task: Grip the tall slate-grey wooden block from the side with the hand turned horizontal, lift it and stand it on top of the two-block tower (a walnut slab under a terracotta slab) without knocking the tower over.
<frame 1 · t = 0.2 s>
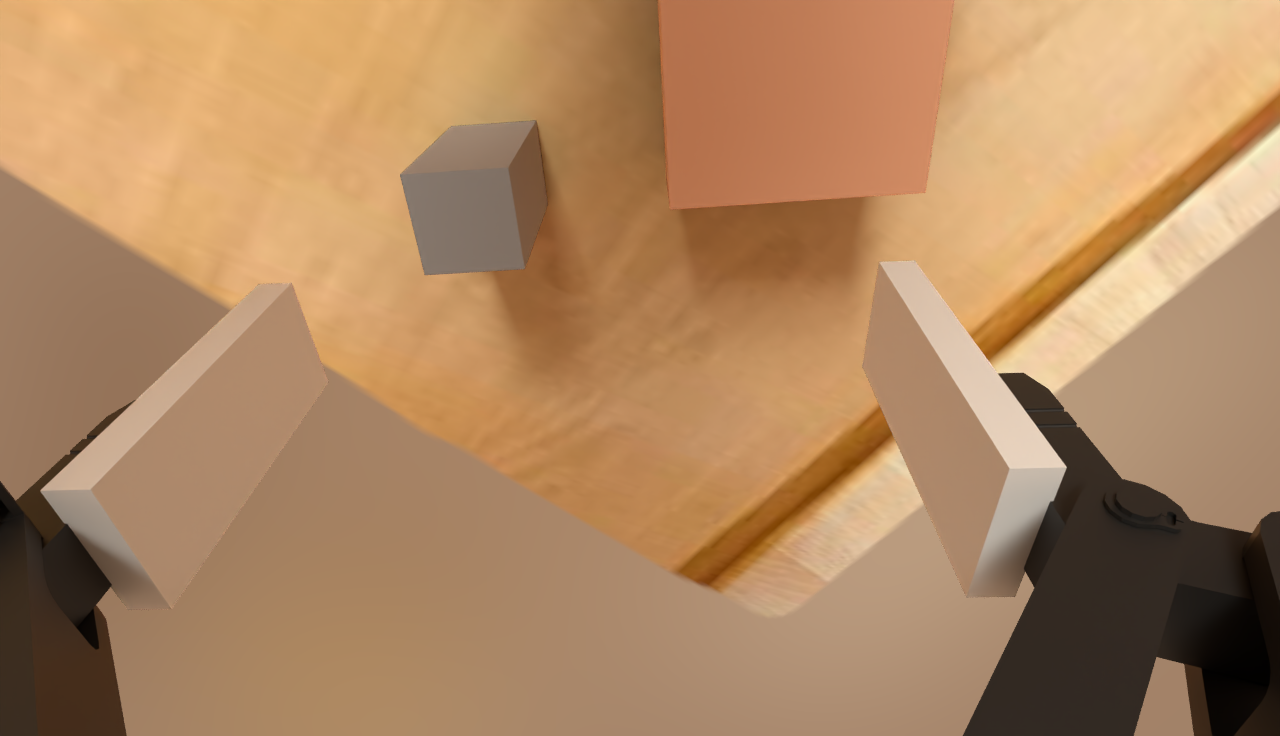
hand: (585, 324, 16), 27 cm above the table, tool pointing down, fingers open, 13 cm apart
tower top: (783, 49, 33), point 5 cm above the table
grey block: (500, 166, 41), on the table
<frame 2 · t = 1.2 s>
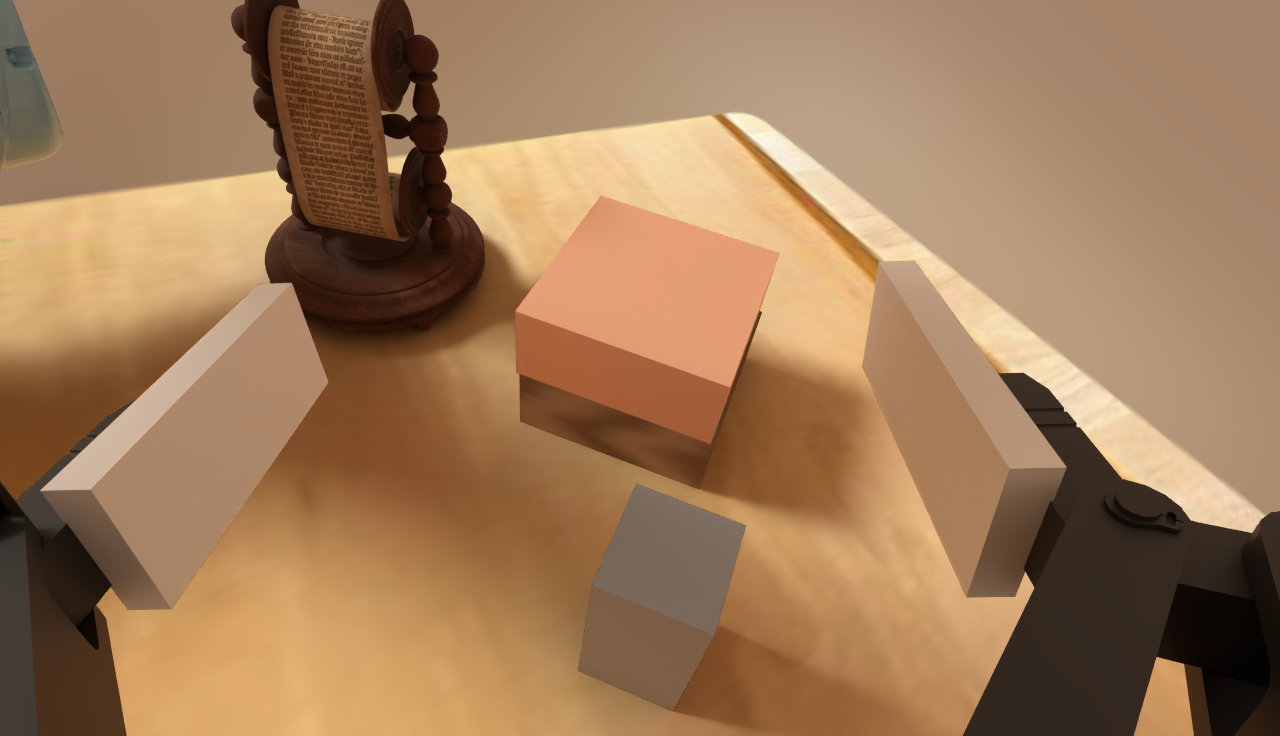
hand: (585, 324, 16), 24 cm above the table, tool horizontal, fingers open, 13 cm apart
tower bottom: (639, 390, 47), on the table, touching tower top
scroll: (384, 276, 51), on the table
tower top: (646, 339, 43), point 5 cm above the table, touching tower bottom
grey block: (641, 642, 35), on the table
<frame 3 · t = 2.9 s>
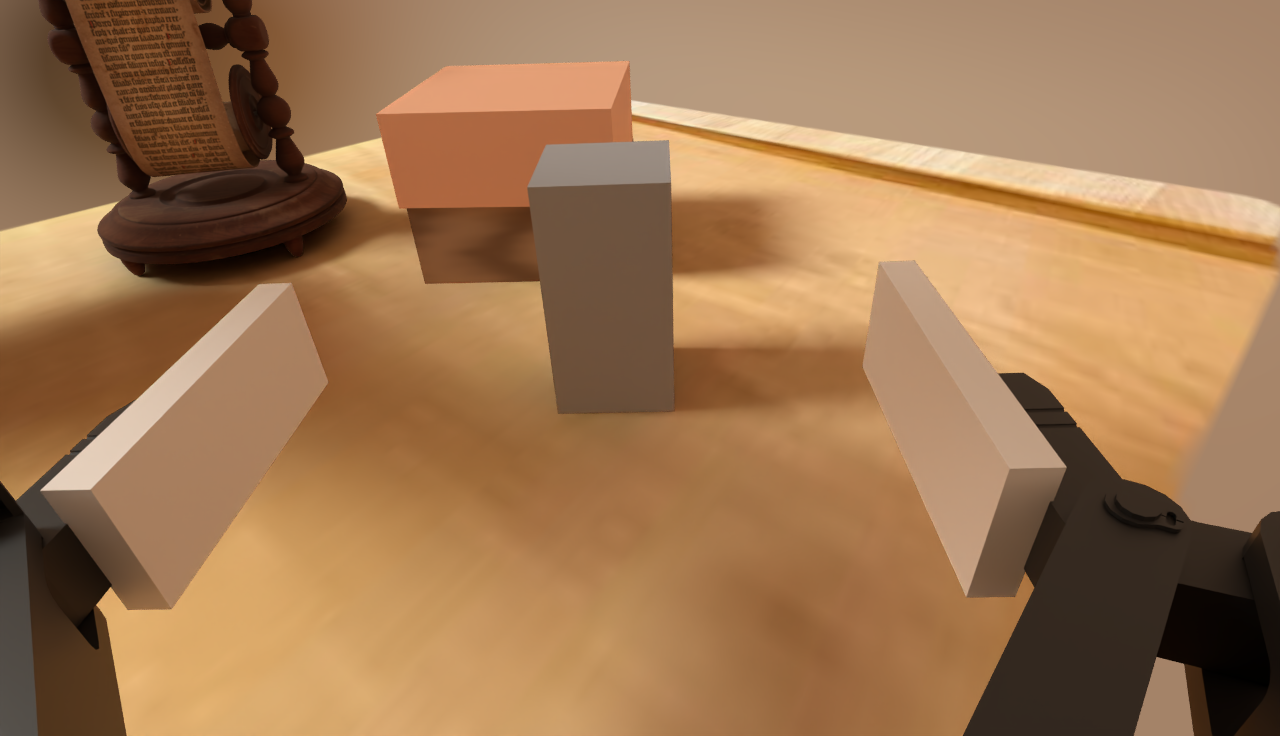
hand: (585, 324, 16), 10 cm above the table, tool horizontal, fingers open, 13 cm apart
tower bottom: (542, 244, 45), on the table, touching tower top
scroll: (241, 239, 47), on the table
tower top: (528, 170, 42), point 5 cm above the table, touching tower bottom
grey block: (618, 378, 31), on the table
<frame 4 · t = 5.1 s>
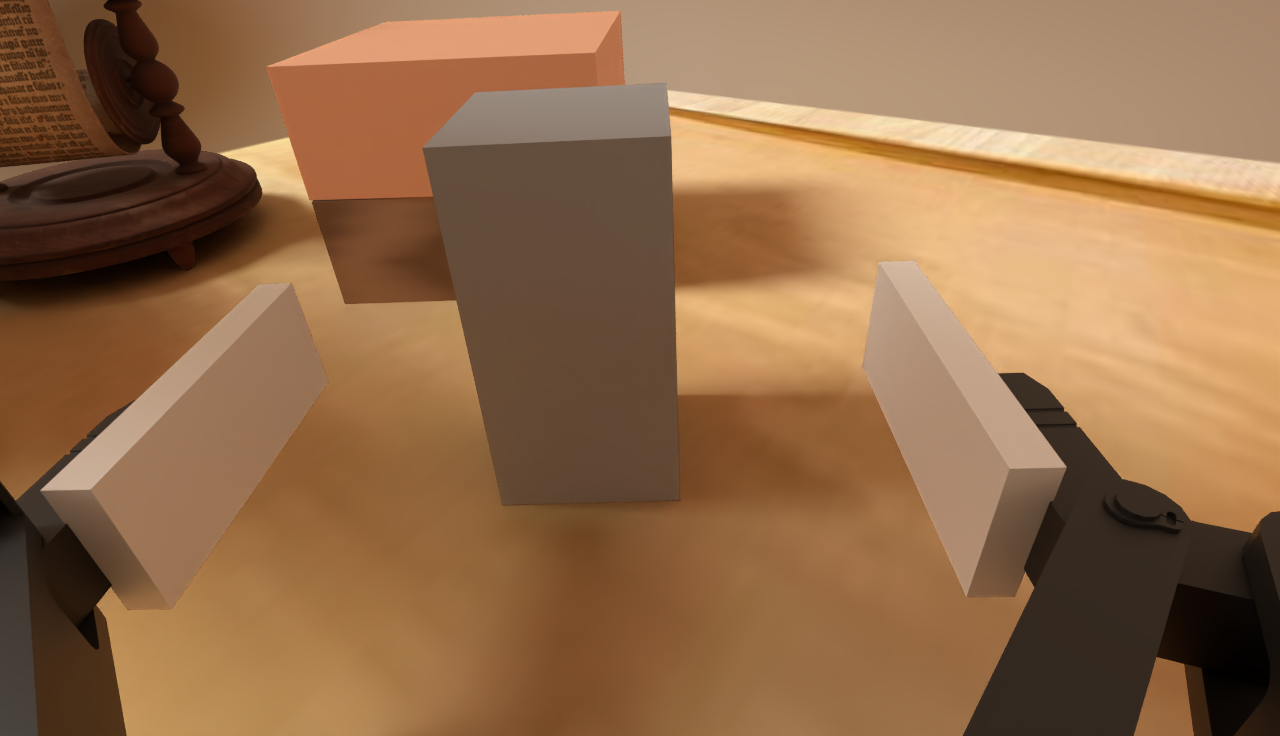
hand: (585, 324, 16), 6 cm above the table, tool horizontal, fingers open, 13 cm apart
tower bottom: (506, 249, 35), on the table, touching tower top
scroll: (127, 248, 37), on the table
tower top: (490, 151, 32), point 5 cm above the table, touching tower bottom
grey block: (596, 444, 21), on the table
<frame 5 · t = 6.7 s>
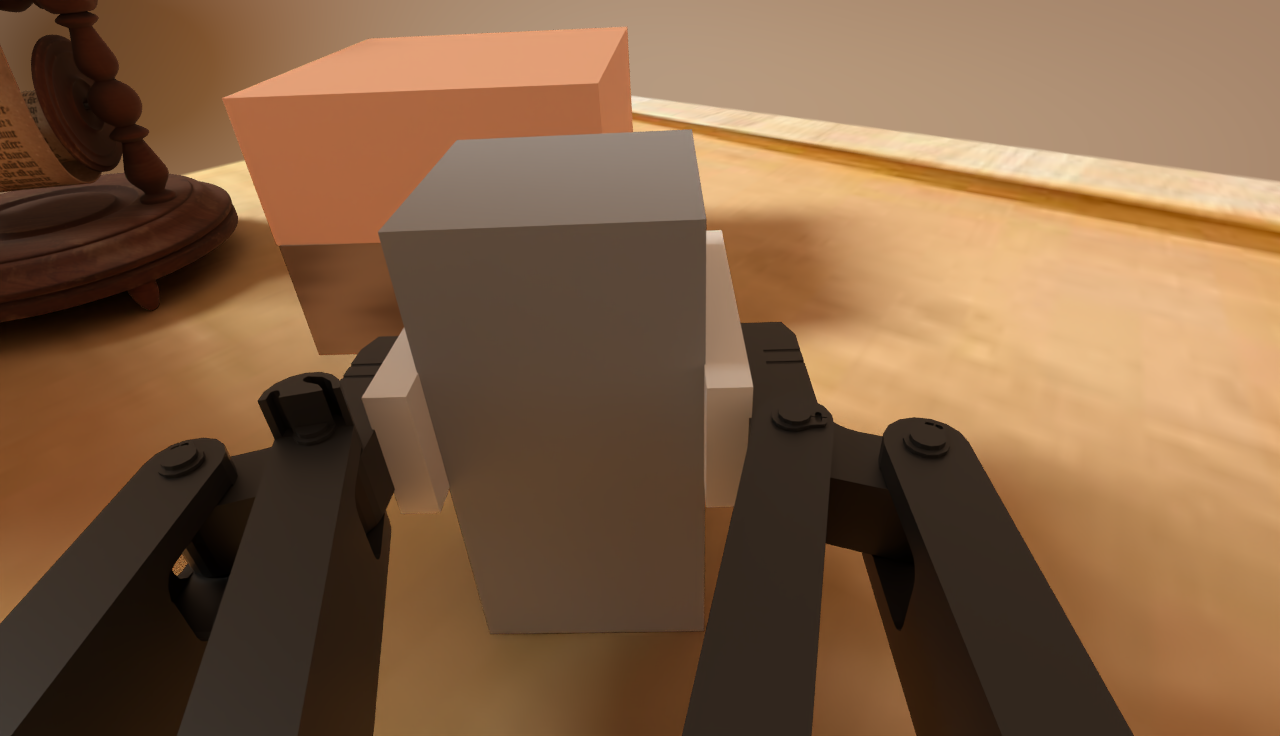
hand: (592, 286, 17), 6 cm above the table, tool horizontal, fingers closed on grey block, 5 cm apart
tower bottom: (501, 288, 32), on the table, touching tower top
scroll: (89, 282, 34), on the table
tower top: (482, 184, 29), point 5 cm above the table, touching tower bottom
grey block: (603, 548, 18), on the table, touching gripper
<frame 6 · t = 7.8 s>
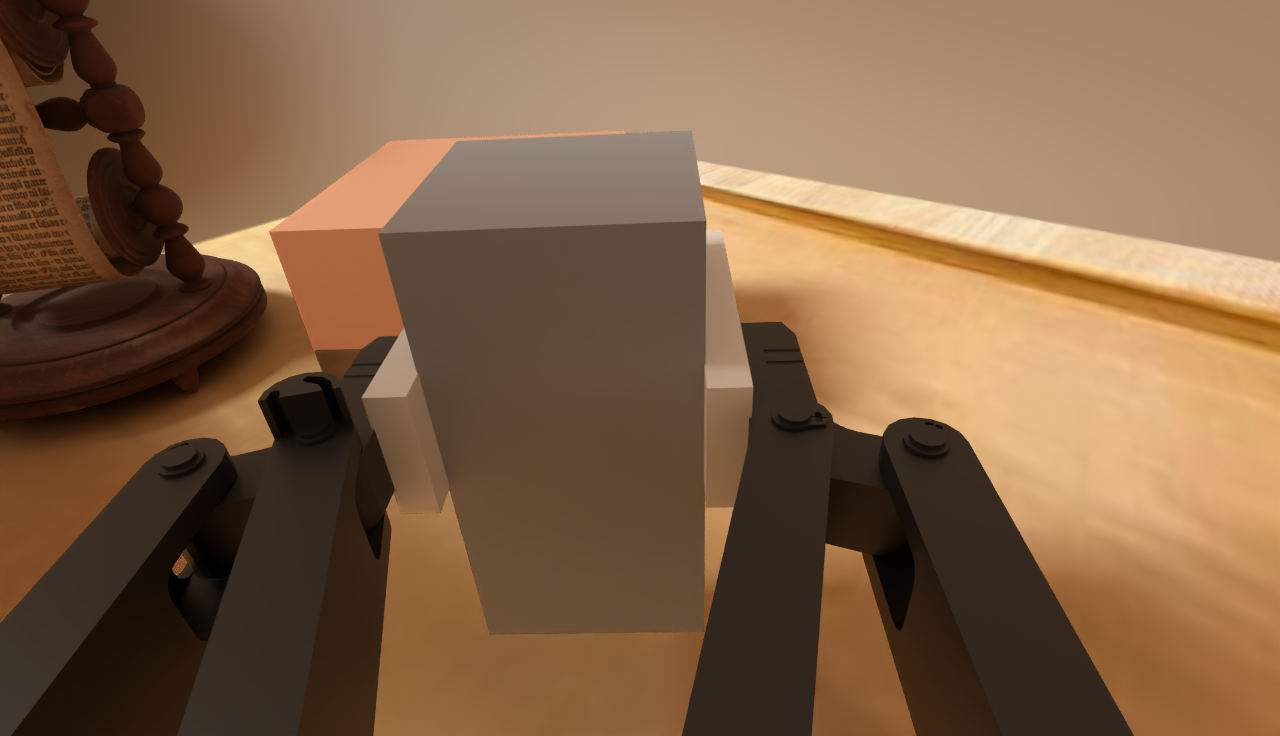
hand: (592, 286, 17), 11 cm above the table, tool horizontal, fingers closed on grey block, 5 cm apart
tower bottom: (510, 368, 35), on the table, touching tower top
scroll: (131, 360, 37), on the table
tower top: (495, 279, 32), point 5 cm above the table, touching tower bottom
grey block: (603, 549, 18), point 4 cm above the table, touching gripper
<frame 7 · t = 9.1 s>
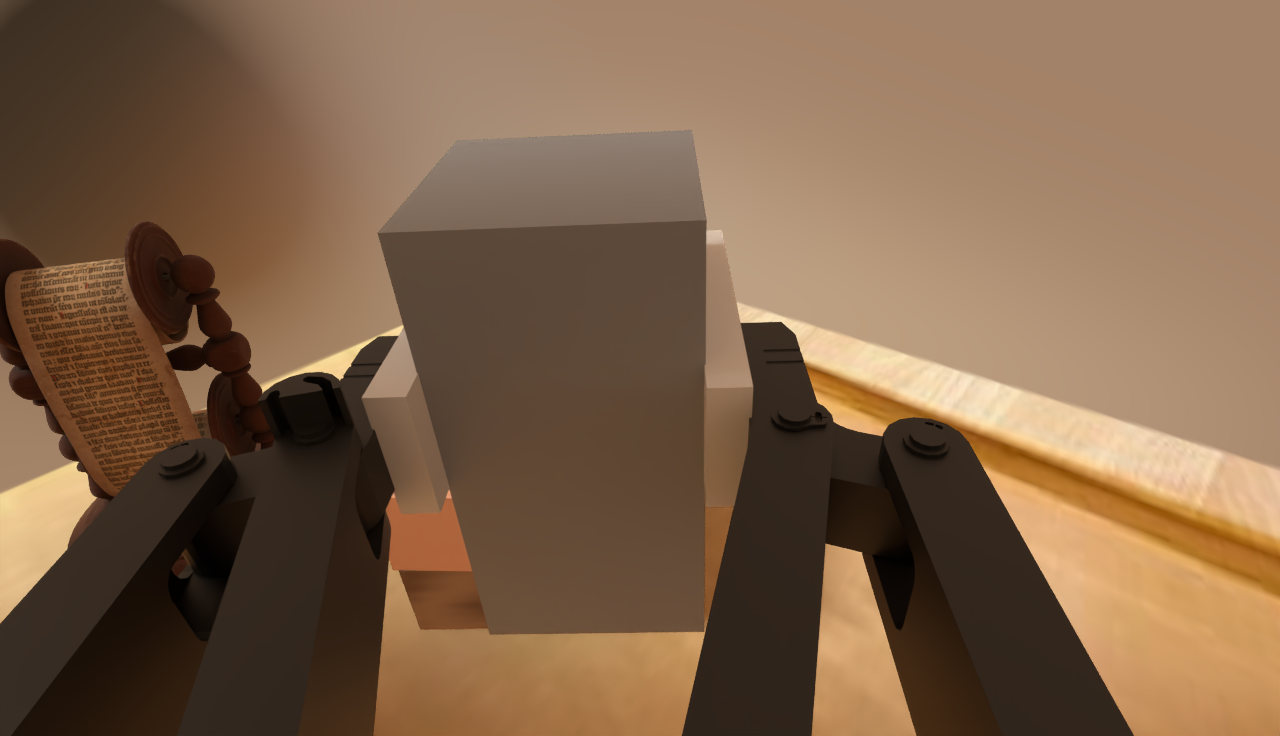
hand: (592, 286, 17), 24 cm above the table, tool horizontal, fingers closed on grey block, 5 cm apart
tower bottom: (546, 544, 42), on the table
scroll: (225, 528, 44), on the table
tower top: (534, 486, 39), point 5 cm above the table
grey block: (603, 549, 18), point 17 cm above the table, touching gripper
when the fingers open (17 cm above the table, at t = 12.5 s): grey block drops 2 cm, resting on tower top.
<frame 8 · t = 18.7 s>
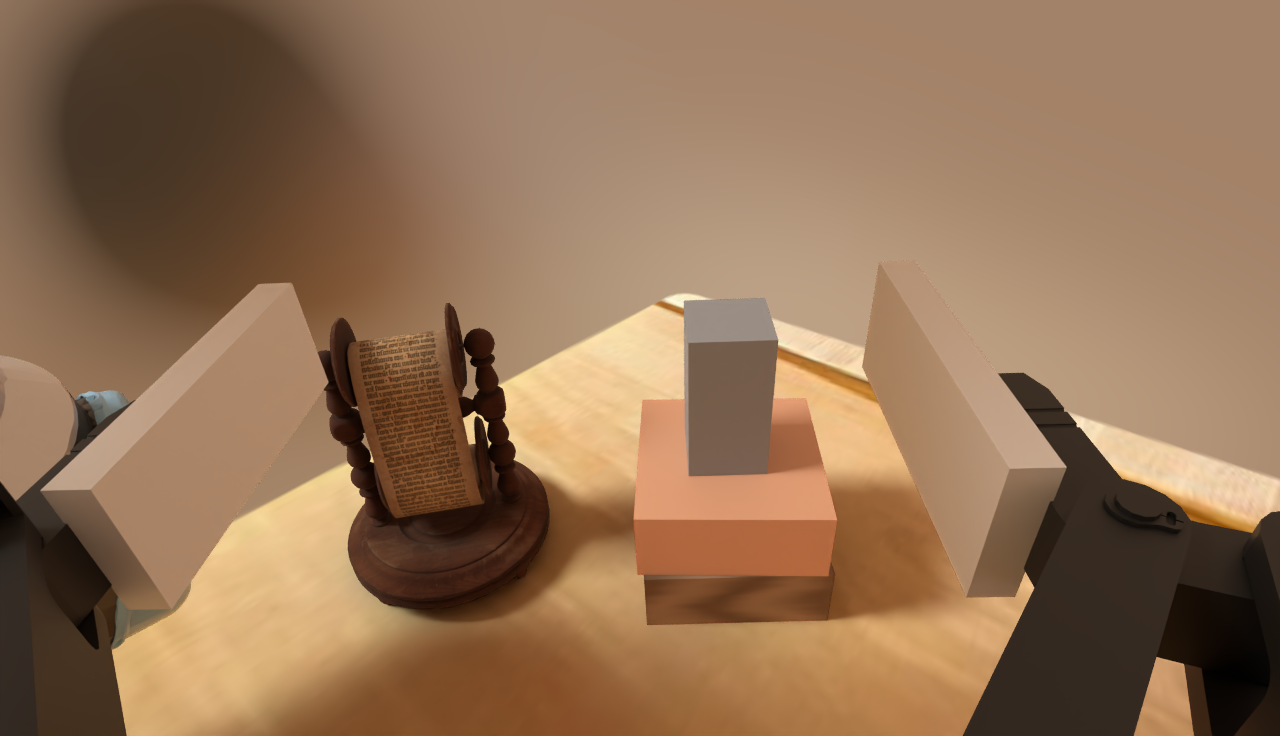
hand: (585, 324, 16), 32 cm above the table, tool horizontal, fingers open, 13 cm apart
tower bottom: (727, 556, 51), on the table
scroll: (457, 542, 53), on the table
tower top: (726, 506, 48), point 5 cm above the table, touching grey block
grey block: (723, 449, 46), point 10 cm above the table, touching tower top
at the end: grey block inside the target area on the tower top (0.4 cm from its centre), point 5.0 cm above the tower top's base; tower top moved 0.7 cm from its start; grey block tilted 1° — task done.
